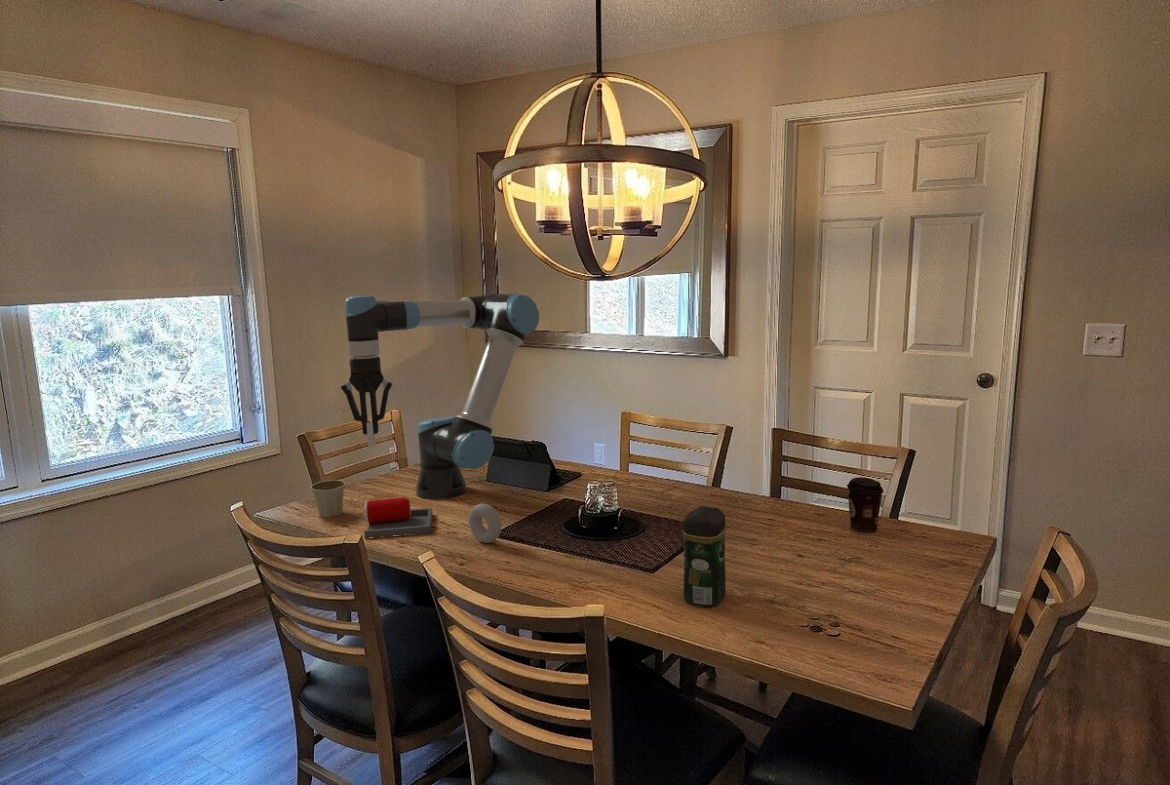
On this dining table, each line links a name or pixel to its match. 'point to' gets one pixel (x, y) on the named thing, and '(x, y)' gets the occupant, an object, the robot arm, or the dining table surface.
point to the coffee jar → (704, 556)
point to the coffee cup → (864, 505)
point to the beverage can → (387, 510)
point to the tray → (403, 525)
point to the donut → (492, 520)
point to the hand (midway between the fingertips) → (371, 445)
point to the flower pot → (329, 497)
